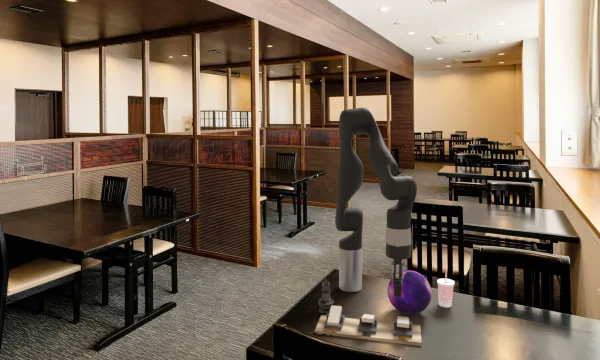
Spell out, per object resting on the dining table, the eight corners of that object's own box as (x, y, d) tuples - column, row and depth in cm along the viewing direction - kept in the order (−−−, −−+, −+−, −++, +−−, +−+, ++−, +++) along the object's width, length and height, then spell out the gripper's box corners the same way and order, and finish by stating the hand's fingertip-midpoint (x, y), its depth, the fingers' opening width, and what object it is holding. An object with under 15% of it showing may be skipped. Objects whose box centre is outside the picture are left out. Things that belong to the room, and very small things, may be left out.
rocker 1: (331, 308, 139) (331, 305, 138) (341, 309, 138) (341, 306, 137) (327, 324, 131) (327, 321, 131) (338, 326, 131) (338, 323, 130)
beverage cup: (457, 305, 148) (458, 268, 147) (447, 309, 145) (448, 272, 143) (443, 299, 153) (444, 264, 152) (432, 303, 150) (433, 267, 148)
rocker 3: (397, 319, 133) (397, 316, 133) (408, 321, 132) (408, 317, 133) (397, 326, 126) (397, 322, 126) (409, 327, 125) (409, 323, 125)
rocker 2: (363, 317, 136) (363, 314, 136) (374, 318, 135) (374, 315, 135) (361, 321, 128) (361, 317, 129) (372, 322, 128) (373, 318, 128)
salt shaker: (333, 306, 149) (333, 275, 148) (335, 313, 143) (335, 281, 142) (317, 307, 149) (317, 275, 147) (318, 314, 143) (318, 282, 142)
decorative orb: (387, 301, 153) (387, 263, 151) (428, 304, 150) (429, 265, 148) (387, 320, 138) (388, 278, 136) (433, 324, 135) (434, 281, 133)
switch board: (321, 317, 141) (321, 307, 140) (420, 328, 132) (420, 317, 132) (314, 333, 130) (314, 322, 130) (421, 346, 122) (421, 334, 121)
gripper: (387, 235, 130) (386, 287, 132) (384, 246, 118) (383, 303, 120) (411, 236, 128) (410, 289, 130) (410, 248, 116) (410, 306, 118)
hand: (397, 295), depth 125 cm, fingers closed
